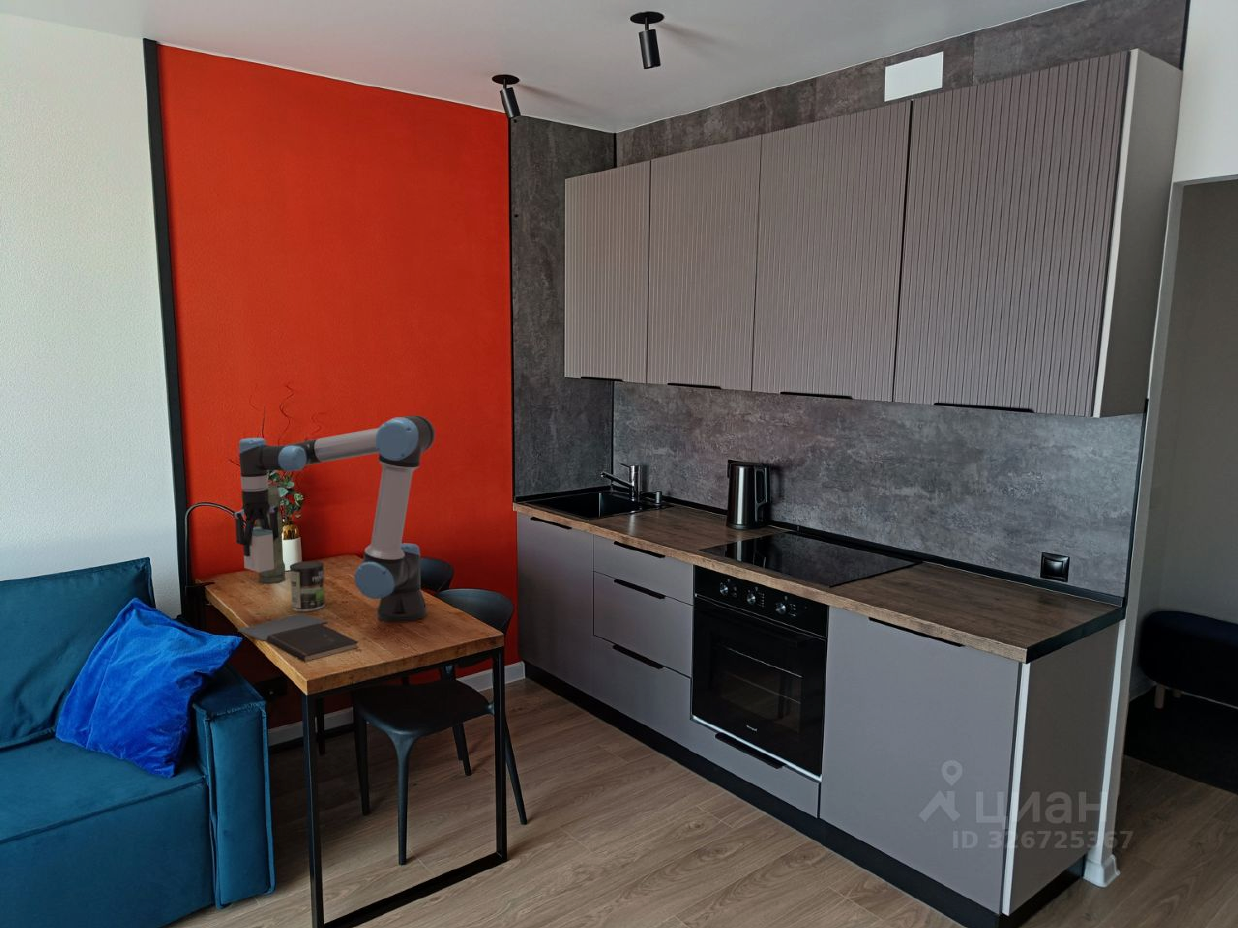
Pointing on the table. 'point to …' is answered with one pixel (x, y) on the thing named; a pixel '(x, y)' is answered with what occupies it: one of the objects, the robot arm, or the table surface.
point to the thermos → (279, 566)
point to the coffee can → (307, 586)
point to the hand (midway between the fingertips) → (259, 564)
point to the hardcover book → (312, 642)
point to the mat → (280, 626)
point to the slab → (261, 550)
